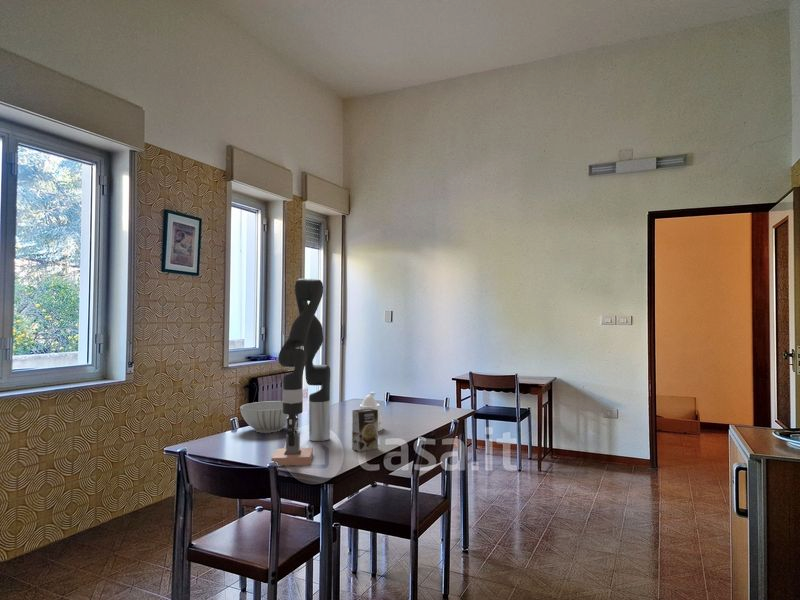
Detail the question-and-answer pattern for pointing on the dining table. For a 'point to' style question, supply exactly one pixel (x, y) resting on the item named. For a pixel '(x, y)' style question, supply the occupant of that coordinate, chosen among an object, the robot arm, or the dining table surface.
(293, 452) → the plug
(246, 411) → the decorative bowl
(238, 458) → the dining table surface
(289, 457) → the socket
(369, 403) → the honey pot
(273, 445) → the dining table surface
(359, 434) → the coffee box
